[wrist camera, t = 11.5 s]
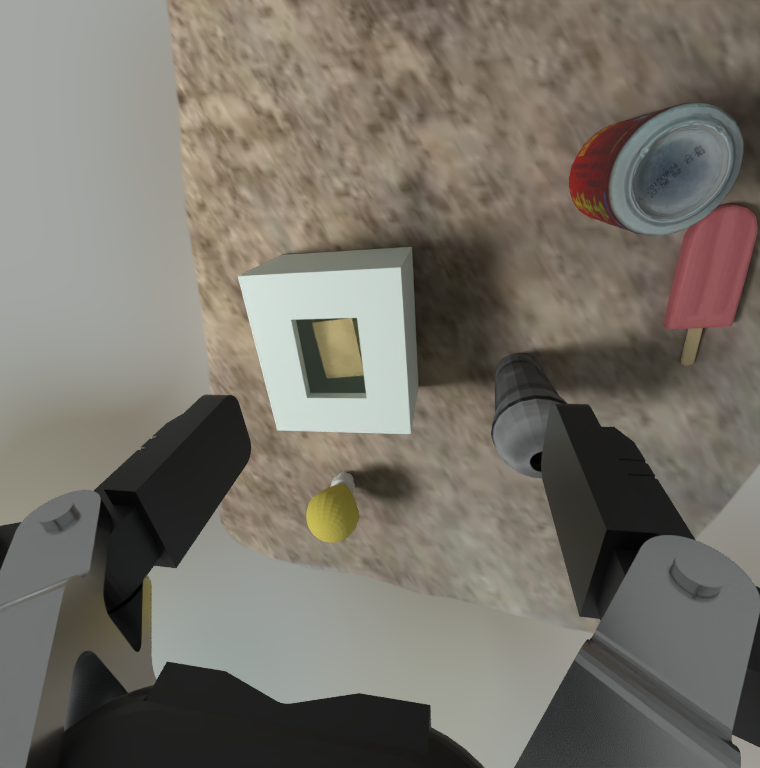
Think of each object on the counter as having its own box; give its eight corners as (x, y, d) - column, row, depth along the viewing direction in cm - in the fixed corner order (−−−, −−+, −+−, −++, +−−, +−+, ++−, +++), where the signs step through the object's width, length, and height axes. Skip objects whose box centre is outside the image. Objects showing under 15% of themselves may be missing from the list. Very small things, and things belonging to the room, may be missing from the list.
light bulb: (377, 489, 55) (362, 548, 47) (338, 500, 58) (318, 558, 49) (353, 454, 53) (333, 510, 44) (314, 467, 55) (288, 523, 47)
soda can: (675, 161, 32) (783, 157, 21) (602, 234, 35) (664, 262, 25) (614, 102, 31) (697, 66, 20) (545, 183, 34) (585, 189, 24)
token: (322, 311, 40) (311, 322, 37) (359, 306, 39) (351, 317, 36) (335, 363, 42) (326, 378, 39) (370, 360, 41) (364, 375, 38)
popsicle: (660, 370, 39) (695, 210, 32) (653, 363, 41) (685, 208, 34) (721, 367, 38) (771, 200, 31) (712, 360, 39) (758, 199, 33)
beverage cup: (492, 335, 42) (519, 453, 24) (561, 348, 41) (639, 477, 24) (475, 393, 45) (488, 530, 28) (538, 405, 45) (592, 553, 27)
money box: (280, 254, 41) (237, 276, 33) (412, 246, 39) (400, 267, 30) (307, 386, 49) (277, 430, 40) (418, 387, 46) (410, 434, 38)
